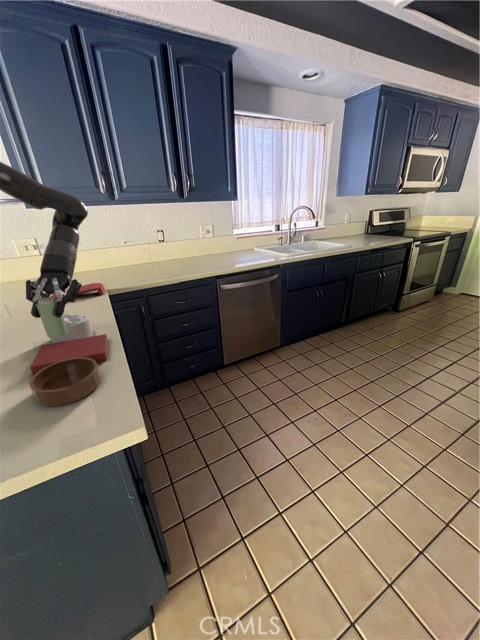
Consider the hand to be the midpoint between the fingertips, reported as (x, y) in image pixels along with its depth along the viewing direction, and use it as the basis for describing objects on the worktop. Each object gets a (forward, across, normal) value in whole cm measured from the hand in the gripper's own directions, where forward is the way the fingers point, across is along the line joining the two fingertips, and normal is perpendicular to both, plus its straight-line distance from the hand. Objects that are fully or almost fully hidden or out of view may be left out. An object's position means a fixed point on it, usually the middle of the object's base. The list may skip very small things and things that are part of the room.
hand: (46, 316), depth 69 cm
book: (+5, -5, +23) cm, 24 cm away
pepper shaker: (+3, 0, +6) cm, 6 cm away
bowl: (+17, +3, +11) cm, 21 cm away
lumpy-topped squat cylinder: (-4, -12, +32) cm, 35 cm away
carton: (-40, -36, +68) cm, 87 cm away
